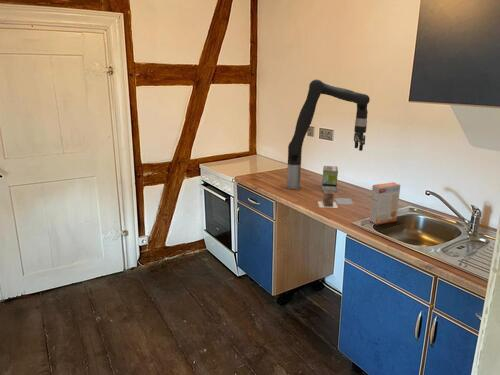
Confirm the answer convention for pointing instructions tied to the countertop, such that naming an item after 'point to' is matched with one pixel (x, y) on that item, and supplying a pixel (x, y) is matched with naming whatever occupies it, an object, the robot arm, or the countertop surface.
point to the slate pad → (343, 201)
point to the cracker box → (384, 203)
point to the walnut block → (328, 198)
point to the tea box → (329, 178)
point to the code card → (328, 206)
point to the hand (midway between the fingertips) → (358, 149)
